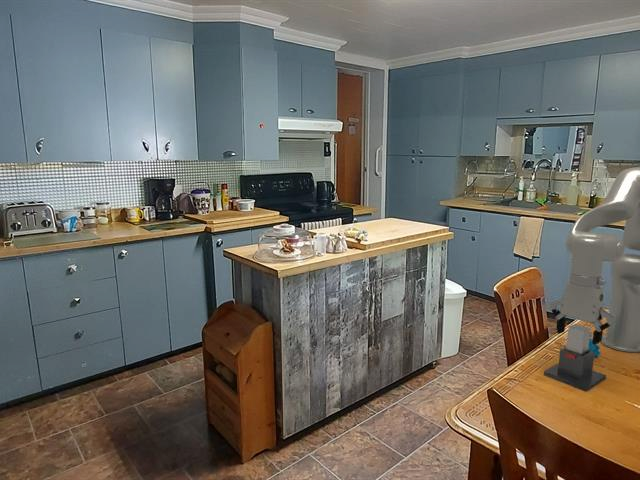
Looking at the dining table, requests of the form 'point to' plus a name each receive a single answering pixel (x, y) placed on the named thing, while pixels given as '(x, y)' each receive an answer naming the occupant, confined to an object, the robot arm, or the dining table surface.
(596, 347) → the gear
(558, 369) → the stand
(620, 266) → the robot arm
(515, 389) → the dining table surface
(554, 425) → the dining table surface
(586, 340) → the post
